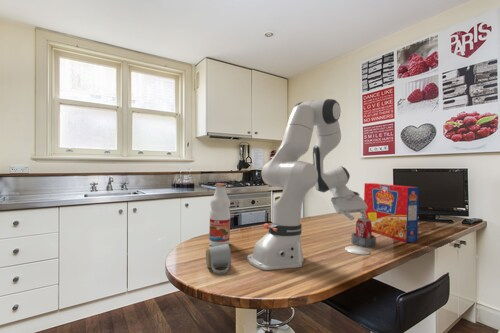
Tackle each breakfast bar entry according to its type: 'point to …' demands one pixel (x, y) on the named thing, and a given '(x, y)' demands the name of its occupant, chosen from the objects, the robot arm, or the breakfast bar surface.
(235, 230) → the breakfast bar surface
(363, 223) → the soda can
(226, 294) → the breakfast bar surface
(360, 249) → the coaster
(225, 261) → the ceramic mug
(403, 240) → the pasta box
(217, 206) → the fruit juice
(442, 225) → the breakfast bar surface
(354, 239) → the metal collar
